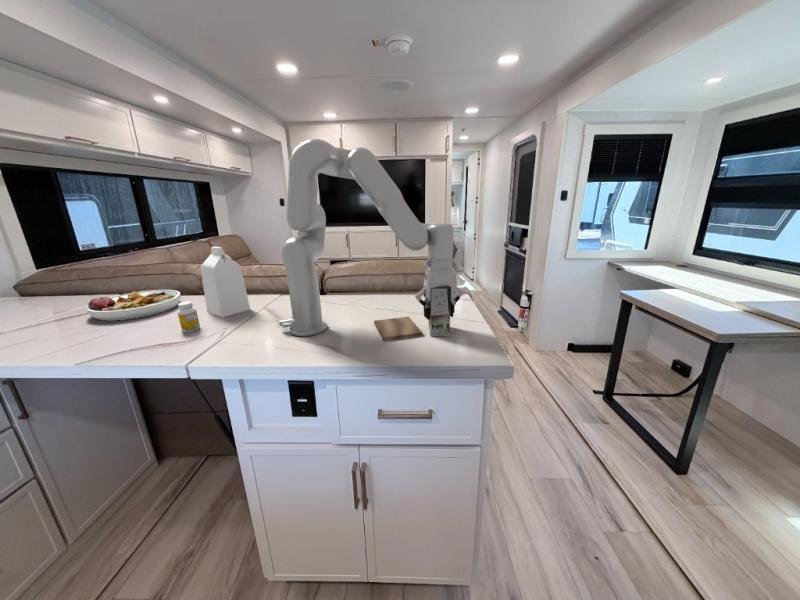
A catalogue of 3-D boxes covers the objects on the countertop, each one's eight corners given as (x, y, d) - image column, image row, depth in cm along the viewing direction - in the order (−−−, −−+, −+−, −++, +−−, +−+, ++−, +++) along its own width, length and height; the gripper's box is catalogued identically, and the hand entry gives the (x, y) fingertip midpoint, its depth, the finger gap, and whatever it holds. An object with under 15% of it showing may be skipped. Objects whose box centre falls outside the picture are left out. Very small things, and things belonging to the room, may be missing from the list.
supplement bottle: (180, 329, 107) (173, 303, 104) (197, 325, 111) (191, 299, 108) (184, 333, 103) (177, 306, 100) (202, 328, 107) (196, 302, 104)
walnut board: (383, 341, 95) (382, 337, 95) (374, 323, 109) (373, 320, 109) (422, 335, 98) (422, 332, 98) (408, 319, 112) (408, 316, 112)
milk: (207, 311, 124) (193, 248, 116) (235, 304, 133) (223, 244, 125) (222, 317, 118) (208, 250, 110) (250, 309, 127) (239, 246, 119)
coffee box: (450, 336, 98) (452, 288, 93) (430, 336, 98) (430, 288, 93) (446, 325, 106) (447, 280, 101) (428, 325, 106) (428, 281, 101)
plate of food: (177, 295, 149) (173, 280, 146) (188, 310, 127) (183, 292, 125) (92, 310, 130) (86, 292, 127) (88, 330, 108) (80, 309, 106)
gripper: (417, 268, 89) (417, 324, 95) (471, 264, 94) (468, 317, 99) (410, 263, 96) (410, 316, 102) (460, 260, 101) (458, 310, 106)
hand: (438, 316), depth 100 cm, fingers closed on coffee box, 7 cm apart
